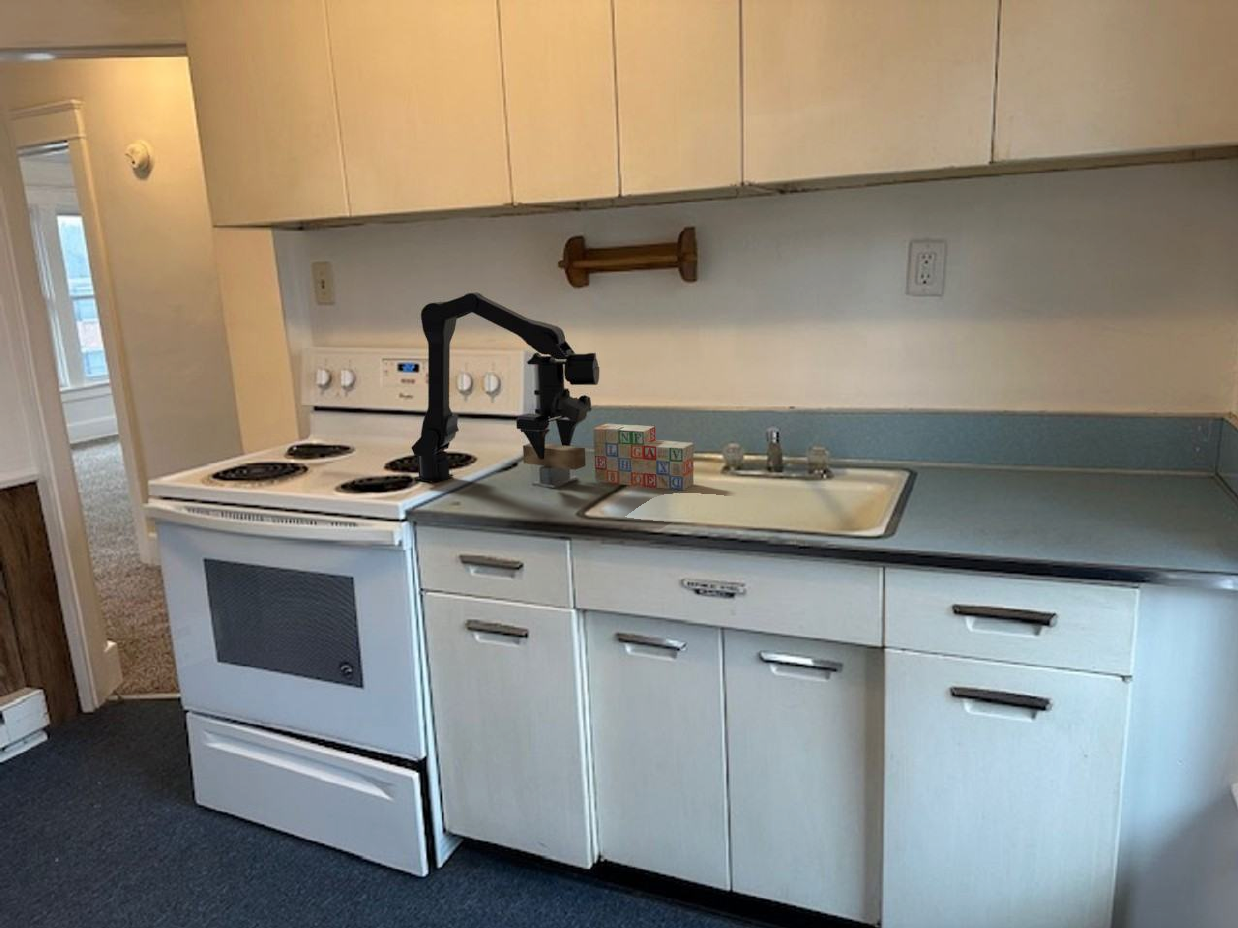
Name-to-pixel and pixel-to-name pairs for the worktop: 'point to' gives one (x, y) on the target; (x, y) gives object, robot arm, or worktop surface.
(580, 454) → the bar
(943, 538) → the worktop surface
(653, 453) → the stack of blocks
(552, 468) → the ridge
